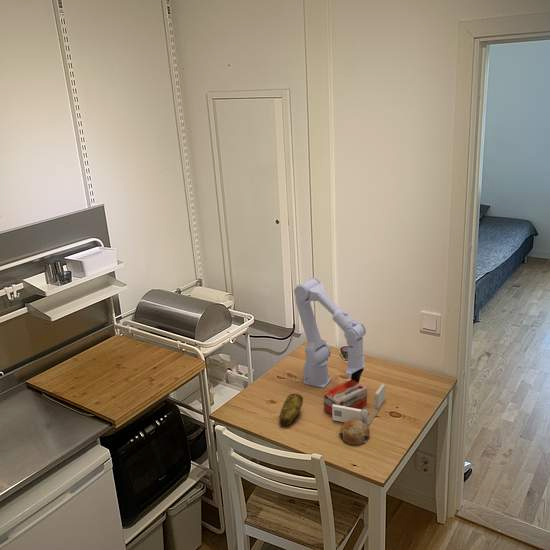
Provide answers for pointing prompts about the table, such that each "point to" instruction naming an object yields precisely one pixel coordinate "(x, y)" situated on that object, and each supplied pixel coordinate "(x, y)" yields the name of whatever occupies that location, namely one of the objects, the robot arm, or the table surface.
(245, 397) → the table surface
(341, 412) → the door
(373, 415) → the white upright panel
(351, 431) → the bread roll
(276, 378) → the table surface
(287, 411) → the olive-green oval lump
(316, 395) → the table surface
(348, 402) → the medicine box
